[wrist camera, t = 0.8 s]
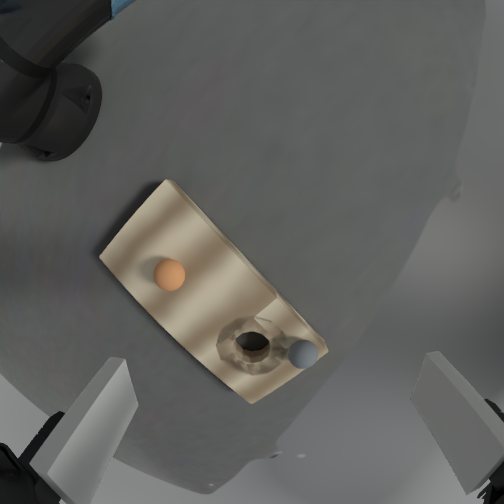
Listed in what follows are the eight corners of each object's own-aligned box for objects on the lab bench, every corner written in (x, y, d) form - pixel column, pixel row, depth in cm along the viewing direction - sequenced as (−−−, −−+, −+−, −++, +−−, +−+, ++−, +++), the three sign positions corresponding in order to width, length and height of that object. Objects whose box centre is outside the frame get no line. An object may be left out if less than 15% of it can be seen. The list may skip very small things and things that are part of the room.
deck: (110, 252, 34) (99, 257, 31) (173, 180, 32) (165, 179, 29) (252, 391, 37) (251, 404, 34) (324, 340, 35) (328, 351, 32)
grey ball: (281, 346, 32) (282, 362, 29) (303, 329, 32) (308, 343, 28) (299, 363, 33) (302, 379, 29) (321, 346, 32) (326, 362, 29)
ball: (154, 269, 31) (142, 277, 28) (173, 249, 30) (163, 255, 27) (174, 291, 31) (165, 302, 28) (194, 272, 31) (187, 281, 27)
